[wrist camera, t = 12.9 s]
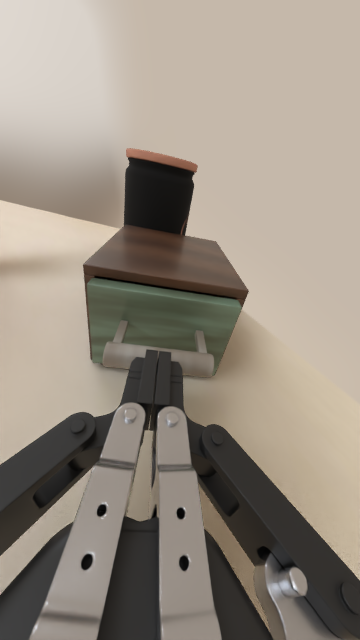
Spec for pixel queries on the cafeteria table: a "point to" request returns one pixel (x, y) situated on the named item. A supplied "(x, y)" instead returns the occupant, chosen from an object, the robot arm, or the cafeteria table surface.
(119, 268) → the cabinet
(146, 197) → the coffee jar
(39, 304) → the cafeteria table surface
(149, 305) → the drawer
